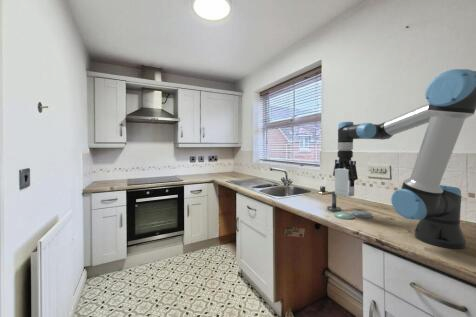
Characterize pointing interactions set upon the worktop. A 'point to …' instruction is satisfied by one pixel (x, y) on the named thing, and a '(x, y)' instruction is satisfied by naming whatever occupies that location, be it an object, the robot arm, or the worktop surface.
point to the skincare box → (342, 182)
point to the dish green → (344, 215)
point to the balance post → (334, 204)
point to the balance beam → (323, 192)
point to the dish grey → (362, 214)
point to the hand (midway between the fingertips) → (344, 190)
